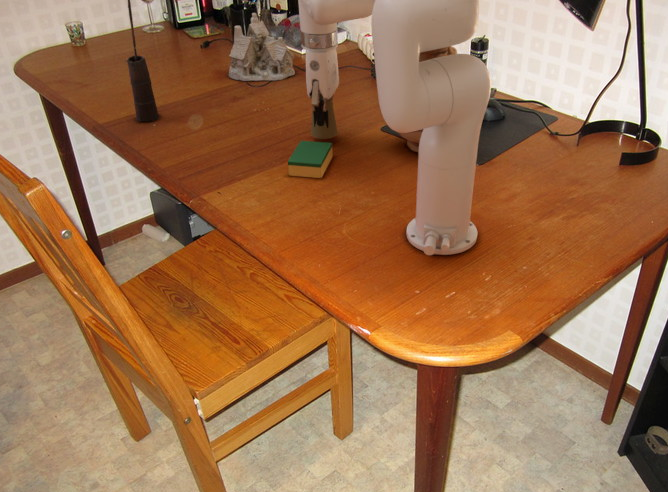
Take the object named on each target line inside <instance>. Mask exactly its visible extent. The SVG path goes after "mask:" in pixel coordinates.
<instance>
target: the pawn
mask: <svg viewBox="0 0 668 492" xmlns="http://www.w3.org/2000/svg"><path fill="white" fill-rule="evenodd" d="M312 91H313V90H312ZM312 91H311V92H312ZM334 95H335V93H334V94H333V95H332V97H331V98H330V99H327V98H326V104H327V110H328V118H329V127H328V129H327V125H326V122H325V119H324V125H323V126H318V125H317V121H316V124H315V127H314V115H313V106H312V109H311V122H310V123H311V125H310V135H311V136H312V137H313V138H316V139H322V140H323V139H324V140H326V139H331V138H335V137H336V136H337V135H338V133H339V131H338V126H337V120H336V116H335V115H336V114H335V110H334V103H333V104H332V102H333V101H332V98H333V99H334V97H335V96H334ZM319 97H323V96H322V94H319ZM319 101H320V102H322V104H323V100H319Z"/></svg>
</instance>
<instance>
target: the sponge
mask: <svg viewBox="0 0 668 492" xmlns="http://www.w3.org/2000/svg"><path fill="white" fill-rule="evenodd" d="M333 157H334V153H333V142H326V141H323V142H322V141H311V140H300V141H299V143H298V144H297V146H296V147H295V149H294V151H293V152H292V153H291V155H290V157H289V158H288V160H287V170H288V176H290V177H291V176H292V177H301V178H302V177H303V178H312V179H313V178H314V179H322V178H323V176H324V174H325V172H326V171H327V169H328V167H329V165H330V163H331V161H332V160H333Z"/></svg>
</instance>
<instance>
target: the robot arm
mask: <svg viewBox="0 0 668 492" xmlns="http://www.w3.org/2000/svg"><path fill="white" fill-rule="evenodd" d="M297 2H298V14H299V15H298V16H299V29H300V41H301V48H302V50H305V81H306V94H307V96H308V98H310V99H311V106H312V107H313V115H314V127H315V124H316V121H317V125H318V126H323V125H324V119H325V122H326V125H327V129H328V127H329V118H328V110H327V104H326V98H327V99H330V98H331V97H332V95H333V94H334V95H335V92H336V91H337V89H338V88H339V85H340V73H339V62H338V53H337V52H338V51H337V48H338V47H339V35H338V34H339V33H338V23H342V22H347V21H354V20H359V19H360V20H361V19H364V18H368V17H370V16H371V23H370V24H371V38H372V49H373V57H374V58H373V59H374V69H375V78H376V83H377V86H376V89H377V98H378V104H379V109H380V112H381V115H382V118H383V120H384V123H386V125H387V126H388V127H389V129H391V130H392V131H394V132H396V133H397V132H399V133H408V132H413V131H417V130H421V129H423V132H422V135H421V138H420V143H419V152H418V155H417V156H418V157H417V178H416V179H417V181H416V182H417V183H416V203H415V204H416V205H415V206H416V207H415V217H414V218H412V220H410V221H409V222H408V224H407V226H406V231H405V232H406V233H405V234H406V238H407V240H408V242H409V244H410V245H412V246H413V247H414V248H416V249H417V250H420V251H422V252H423V253H424V254H425V255H426V256H433V255H439V256H448V255H449V256H450V255H451V256H452V255H456V254H460V253H463V252H466V251H467V250H469V249H471V248H472V247H473V246H474V245H475V244H476V242H477V240H478V229H477V226H476V225H475V224H474V223H473V222H472V221H471V215H472V205H473V204H472V203H473V195H474V187H475V175H476V168H477V159H478V150H479V149H478V148H479V141H480V135H481V130H482V124H483V120H484V118H485V114H486V111H487V108H488V105H489V102H490V97H491V93H492V79H491V75H490V71H489V68H488V67H487V65H486V64H485V63H484V61H483V60H481V59H480V58H479V57H477V56H475V55H473V54H468V53H457V54H452V55H447V56H443V57H438V58H433V59H429V60H426V61H422V62H419V55H420V53H421V52H426V51H431V50H435V49H440V48H445V47H449V46H452V47H454V46H457V45H460V44H463V43H465V42H467V41H468V40H470V39H471V38H472V37H474V35H475V33H476V32H477V28H478V24H479V12H480V11H479V10H480V9H479V8H480V7H479V6H480V4H479V3H480V1H479V0H297ZM312 90H313V91H312ZM311 91H312V92H311ZM319 94H322V96H323V97H319ZM319 100H323V104H322V102H320V101H319ZM333 100H334V97H333V98H332V104H333V105H334V102H333Z"/></svg>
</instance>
